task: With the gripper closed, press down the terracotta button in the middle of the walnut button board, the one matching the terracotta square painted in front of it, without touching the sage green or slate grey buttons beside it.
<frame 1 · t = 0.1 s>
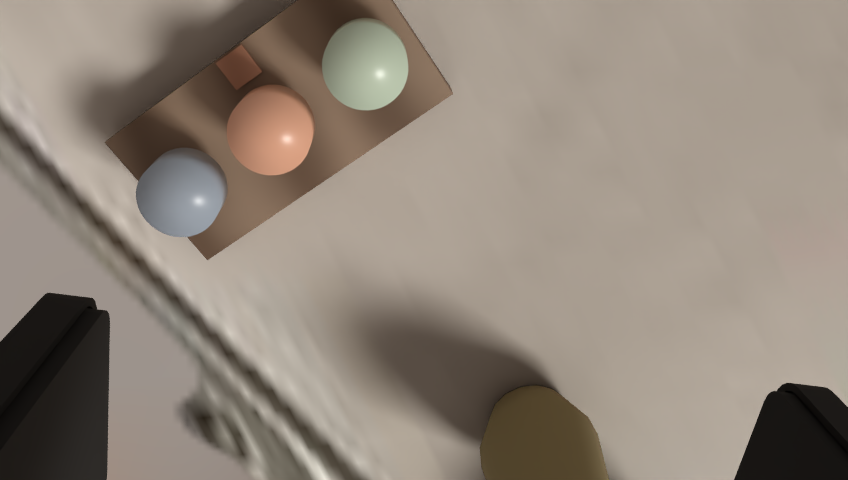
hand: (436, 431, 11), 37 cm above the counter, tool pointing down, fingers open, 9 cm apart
button terracotta: (272, 129, 41), point 5 cm above the counter, slide at 0.0 cm
button sage: (365, 63, 40), point 5 cm above the counter, slide at 0.0 cm
squeeze bottle: (529, 416, 55), on the counter
button slate: (183, 192, 42), point 5 cm above the counter, slide at 0.0 cm
button board: (282, 110, 46), on the counter
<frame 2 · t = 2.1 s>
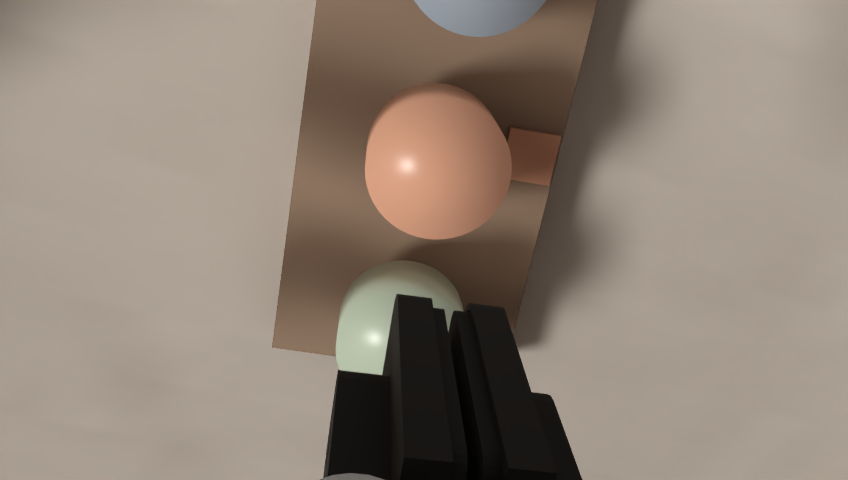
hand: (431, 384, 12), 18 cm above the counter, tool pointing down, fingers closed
button terracotta: (436, 160, 24), point 5 cm above the counter, slide at 0.0 cm
button sage: (402, 333, 26), point 5 cm above the counter, slide at 0.0 cm
button board: (428, 126, 28), on the counter
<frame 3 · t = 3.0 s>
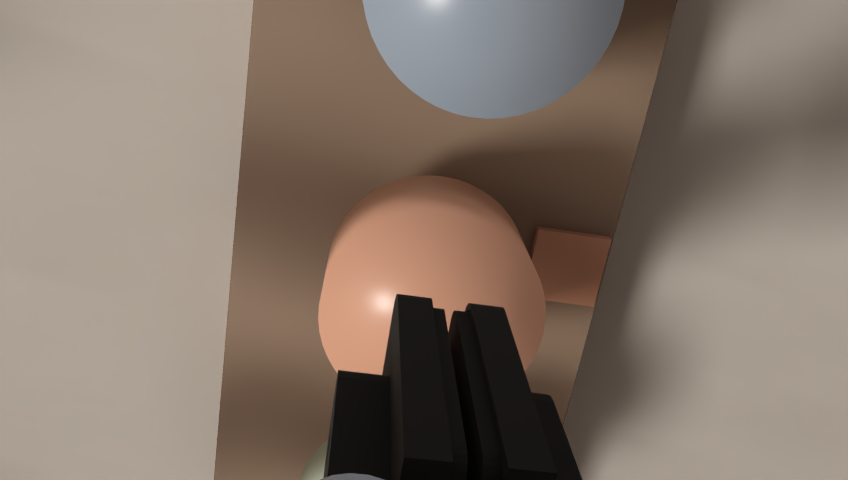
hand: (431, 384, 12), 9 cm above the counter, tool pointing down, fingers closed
button terracotta: (429, 293, 16), point 5 cm above the counter, slide at 0.0 cm
button board: (421, 218, 20), on the counter
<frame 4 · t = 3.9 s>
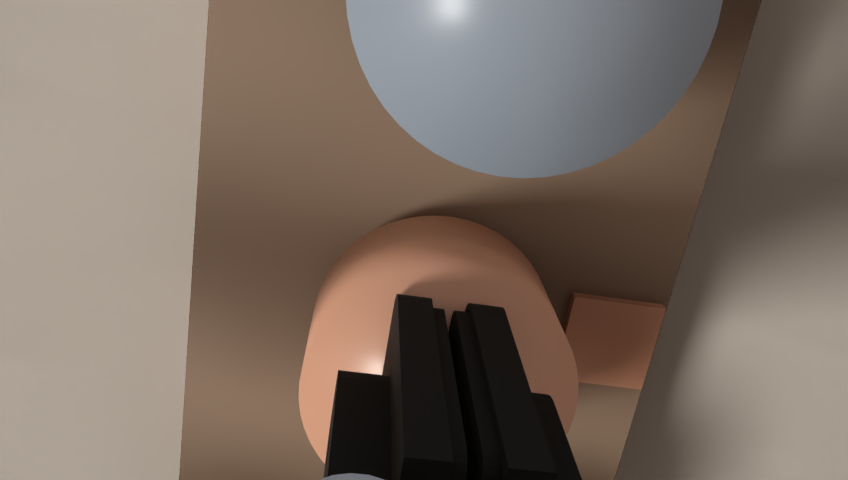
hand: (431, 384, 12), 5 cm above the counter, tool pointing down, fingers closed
button terracotta: (435, 359, 13), point 4 cm above the counter, slide at 1.1 cm, touching gripper
button board: (425, 274, 17), on the counter
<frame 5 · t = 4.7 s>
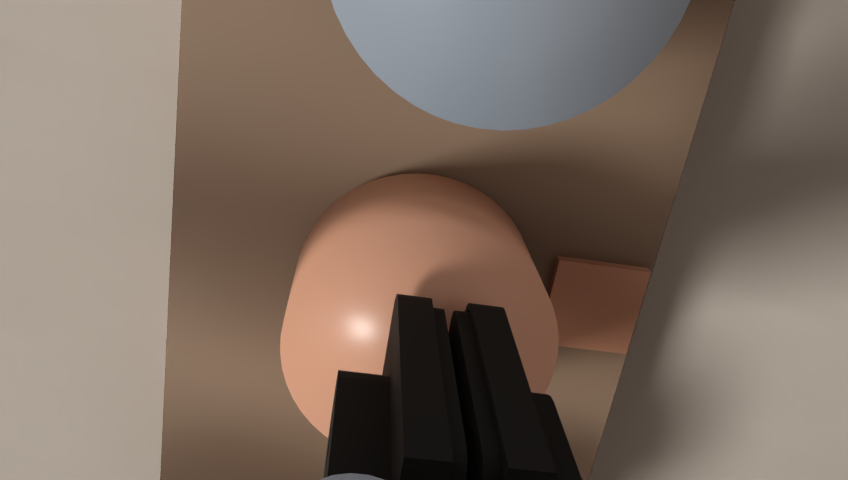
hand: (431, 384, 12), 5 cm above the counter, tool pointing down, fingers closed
button terracotta: (417, 316, 13), point 3 cm above the counter, slide at 1.3 cm
button board: (409, 240, 16), on the counter
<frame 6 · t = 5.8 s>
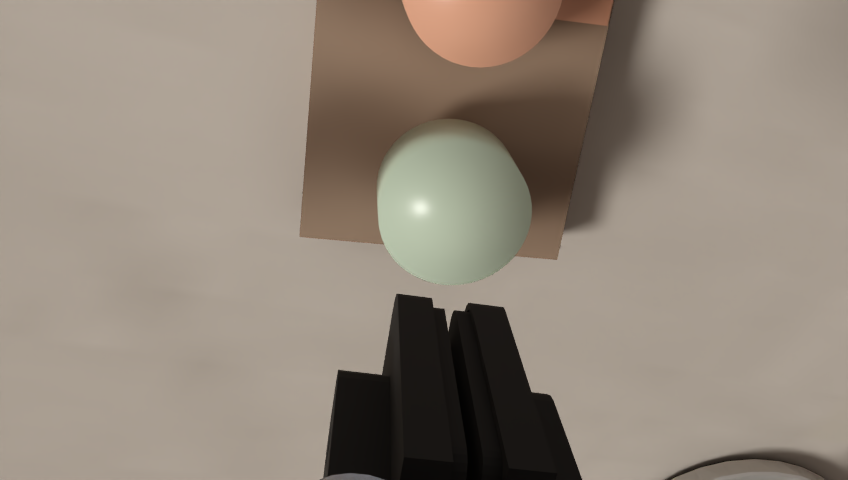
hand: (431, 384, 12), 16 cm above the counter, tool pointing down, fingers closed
button sage: (451, 201, 23), point 5 cm above the counter, slide at 0.0 cm
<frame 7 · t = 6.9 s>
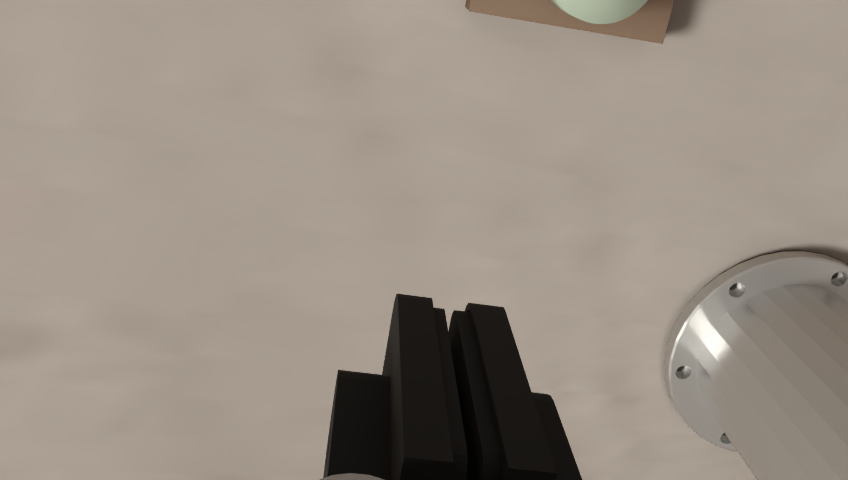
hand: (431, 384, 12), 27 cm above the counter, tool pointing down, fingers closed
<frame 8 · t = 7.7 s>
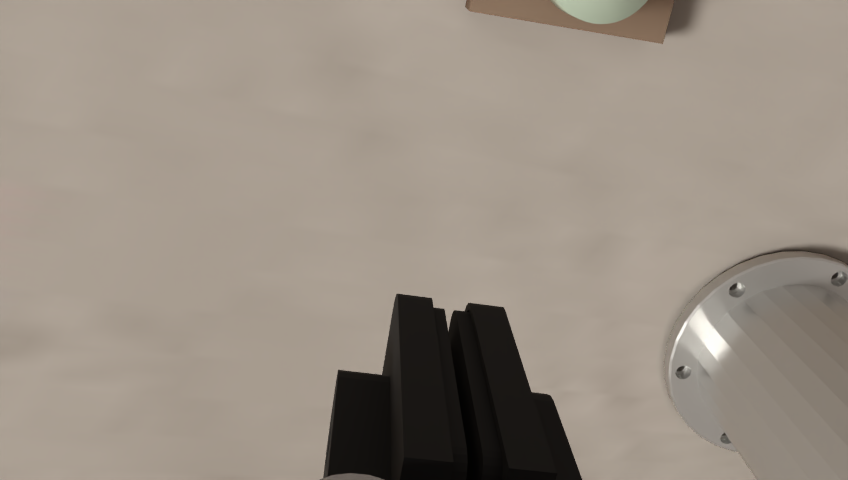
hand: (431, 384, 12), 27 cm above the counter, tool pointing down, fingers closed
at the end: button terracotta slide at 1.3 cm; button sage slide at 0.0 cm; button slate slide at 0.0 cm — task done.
